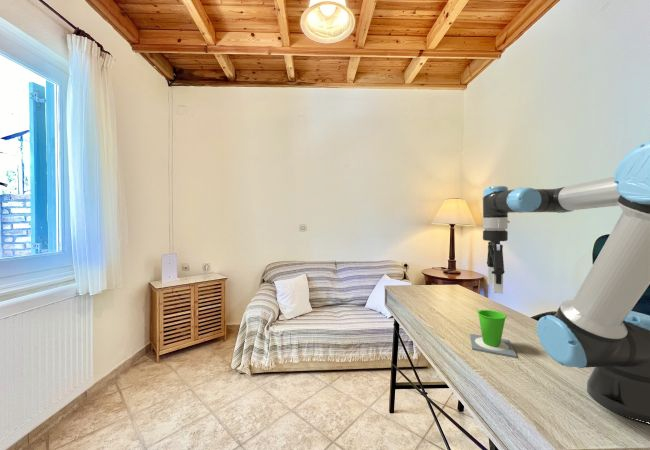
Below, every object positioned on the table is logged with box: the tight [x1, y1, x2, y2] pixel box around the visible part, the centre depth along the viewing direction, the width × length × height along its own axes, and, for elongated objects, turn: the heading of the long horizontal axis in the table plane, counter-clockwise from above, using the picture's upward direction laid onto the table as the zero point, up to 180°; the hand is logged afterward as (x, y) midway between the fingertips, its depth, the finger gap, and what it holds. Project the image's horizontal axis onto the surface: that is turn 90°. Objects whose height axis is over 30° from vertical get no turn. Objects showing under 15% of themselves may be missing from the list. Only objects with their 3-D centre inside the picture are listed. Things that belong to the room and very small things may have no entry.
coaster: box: [469, 333, 518, 359], centre depth 97 cm, size 13×13×1 cm
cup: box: [476, 309, 508, 347], centre depth 97 cm, size 9×9×11 cm
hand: (494, 288), depth 96 cm, fingers open, 13 cm apart
